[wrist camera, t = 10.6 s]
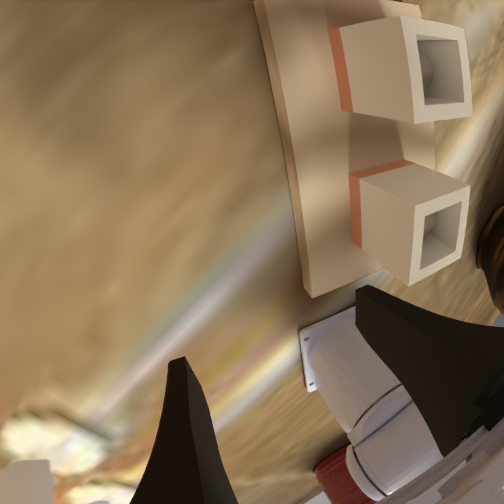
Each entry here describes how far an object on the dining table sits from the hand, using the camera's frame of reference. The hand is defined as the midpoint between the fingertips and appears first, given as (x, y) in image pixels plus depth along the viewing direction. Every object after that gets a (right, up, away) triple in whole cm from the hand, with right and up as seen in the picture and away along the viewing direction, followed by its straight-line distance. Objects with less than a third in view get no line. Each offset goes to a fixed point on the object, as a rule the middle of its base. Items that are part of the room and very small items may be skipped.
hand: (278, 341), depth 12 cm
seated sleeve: (+8, +7, +9) cm, 14 cm away
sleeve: (+6, +15, +4) cm, 16 cm away
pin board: (+6, +11, +8) cm, 15 cm away
